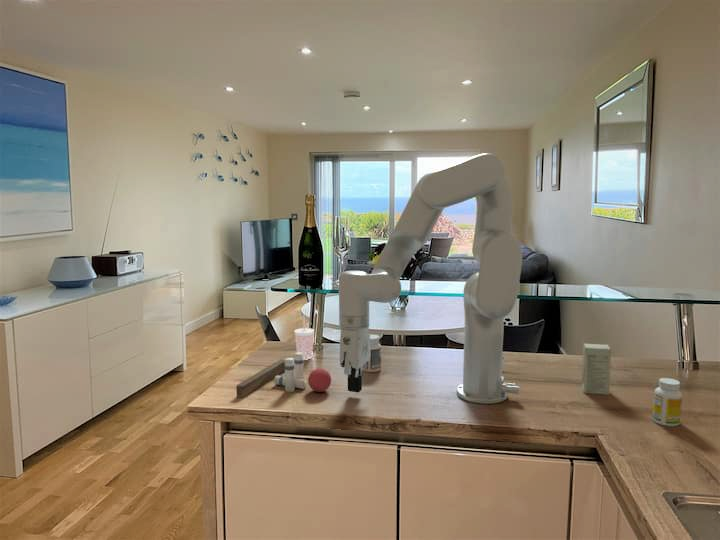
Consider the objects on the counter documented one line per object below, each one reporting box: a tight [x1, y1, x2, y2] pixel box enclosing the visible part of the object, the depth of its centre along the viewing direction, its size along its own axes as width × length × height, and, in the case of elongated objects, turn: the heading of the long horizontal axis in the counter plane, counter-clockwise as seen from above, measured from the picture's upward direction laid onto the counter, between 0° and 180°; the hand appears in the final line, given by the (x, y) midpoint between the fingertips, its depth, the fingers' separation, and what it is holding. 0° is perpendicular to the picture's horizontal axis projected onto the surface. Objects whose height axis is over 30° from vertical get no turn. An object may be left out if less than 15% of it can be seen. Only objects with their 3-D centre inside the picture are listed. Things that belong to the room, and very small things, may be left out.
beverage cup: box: [293, 314, 315, 361], centre depth 161 cm, size 6×6×14 cm
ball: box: [307, 368, 332, 393], centre depth 134 cm, size 6×6×6 cm
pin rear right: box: [293, 351, 305, 380], centre depth 139 cm, size 2×2×8 cm
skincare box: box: [581, 343, 612, 395], centre depth 133 cm, size 6×4×12 cm
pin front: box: [273, 375, 308, 390], centre depth 138 cm, size 2×2×8 cm
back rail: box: [235, 359, 285, 398], centre depth 141 cm, size 2×22×3 cm, turn 159°
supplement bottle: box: [651, 377, 683, 427], centre depth 116 cm, size 5×5×10 cm
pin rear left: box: [284, 357, 295, 393], centre depth 135 cm, size 2×2×8 cm
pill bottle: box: [362, 334, 382, 373], centre depth 151 cm, size 6×6×10 cm
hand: (354, 390), depth 131 cm, fingers closed
